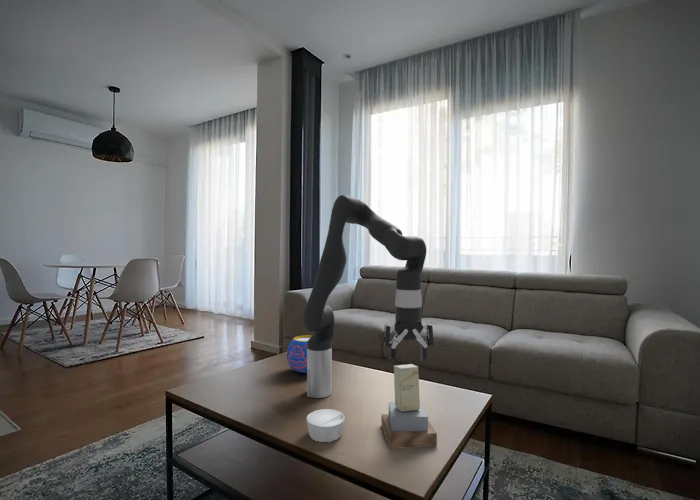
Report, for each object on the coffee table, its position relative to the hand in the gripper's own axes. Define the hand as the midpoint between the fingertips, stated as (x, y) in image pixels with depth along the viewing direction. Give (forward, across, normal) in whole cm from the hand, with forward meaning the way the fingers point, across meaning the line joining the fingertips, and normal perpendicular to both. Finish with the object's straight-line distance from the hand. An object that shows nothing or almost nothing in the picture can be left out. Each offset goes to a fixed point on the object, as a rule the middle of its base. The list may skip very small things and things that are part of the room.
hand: (408, 360), depth 106 cm
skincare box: (+14, 0, +1) cm, 14 cm away
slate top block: (+18, 0, 0) cm, 18 cm away
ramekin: (+22, -24, +3) cm, 33 cm away
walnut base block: (+22, 0, 0) cm, 22 cm away
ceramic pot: (+22, -30, +60) cm, 71 cm away
